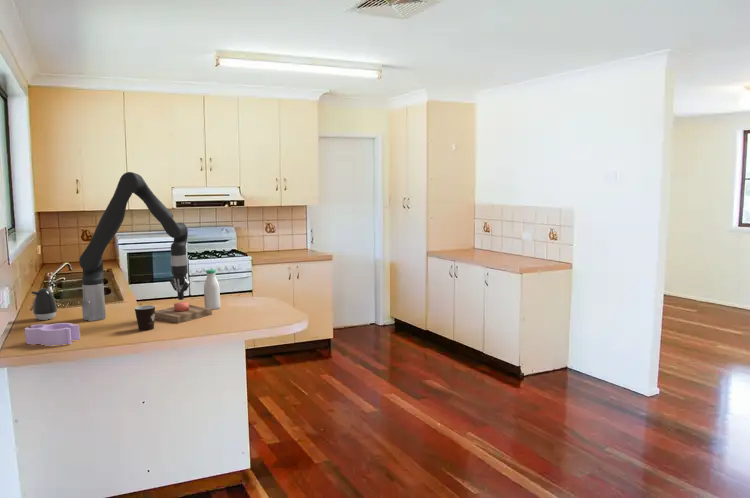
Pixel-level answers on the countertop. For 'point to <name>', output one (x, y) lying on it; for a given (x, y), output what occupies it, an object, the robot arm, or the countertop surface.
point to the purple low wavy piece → (52, 334)
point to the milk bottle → (211, 290)
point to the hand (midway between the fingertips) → (180, 299)
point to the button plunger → (181, 306)
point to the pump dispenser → (44, 305)
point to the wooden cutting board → (182, 314)
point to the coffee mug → (145, 317)
